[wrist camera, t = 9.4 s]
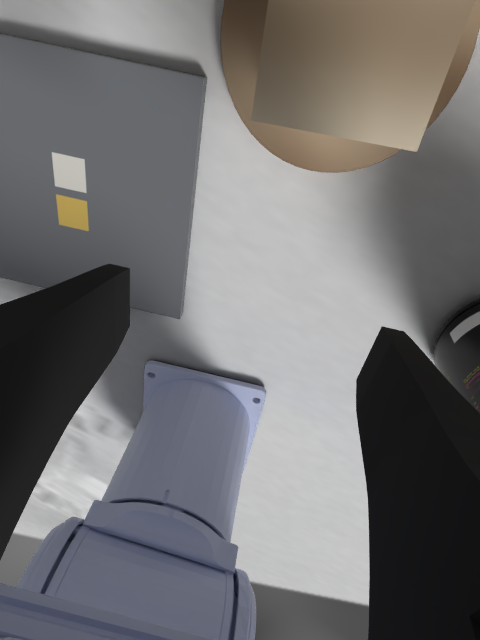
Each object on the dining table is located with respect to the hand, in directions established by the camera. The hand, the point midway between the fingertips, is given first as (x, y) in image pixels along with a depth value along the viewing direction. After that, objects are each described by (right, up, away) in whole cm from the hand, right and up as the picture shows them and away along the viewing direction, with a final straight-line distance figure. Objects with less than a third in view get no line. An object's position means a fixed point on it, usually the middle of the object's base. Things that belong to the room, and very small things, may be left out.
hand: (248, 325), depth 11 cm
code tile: (-8, +7, +9) cm, 14 cm away
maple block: (+4, +10, +3) cm, 11 cm away
